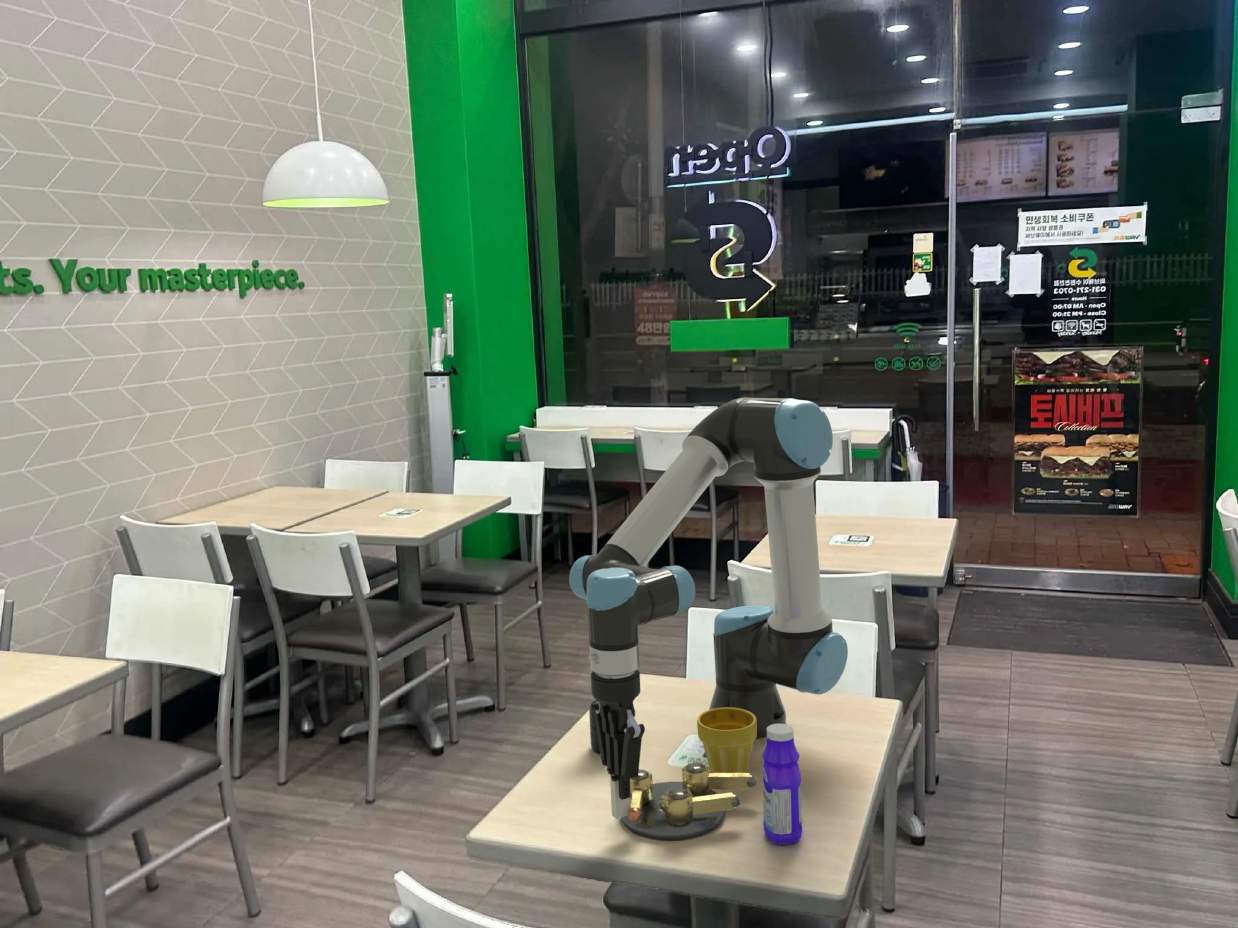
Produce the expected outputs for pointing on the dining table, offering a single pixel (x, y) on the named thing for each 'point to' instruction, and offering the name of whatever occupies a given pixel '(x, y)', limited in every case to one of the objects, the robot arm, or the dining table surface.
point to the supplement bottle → (593, 730)
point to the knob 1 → (640, 793)
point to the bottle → (781, 786)
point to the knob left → (713, 779)
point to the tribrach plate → (661, 829)
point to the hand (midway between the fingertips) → (621, 814)
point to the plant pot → (727, 738)
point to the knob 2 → (695, 804)
